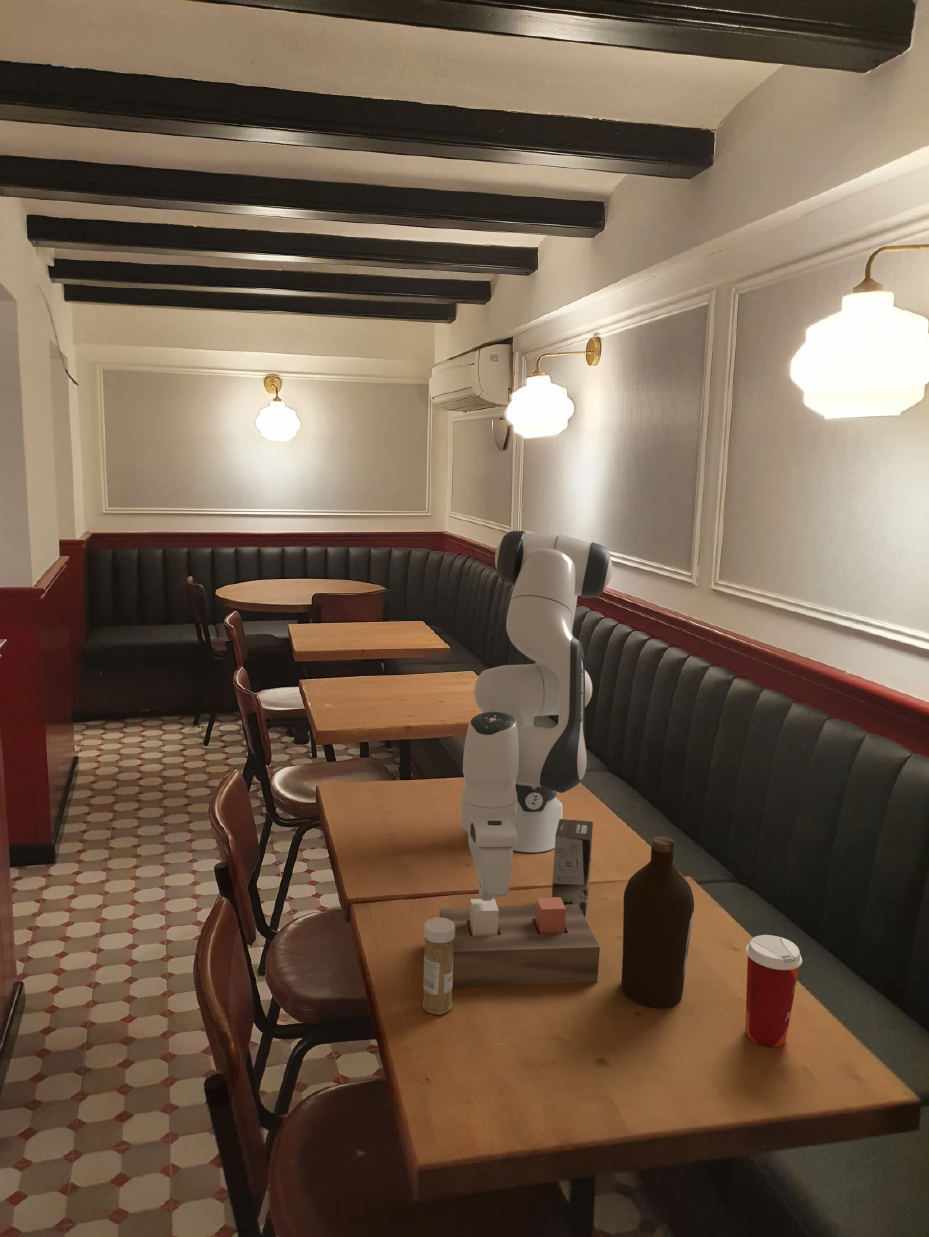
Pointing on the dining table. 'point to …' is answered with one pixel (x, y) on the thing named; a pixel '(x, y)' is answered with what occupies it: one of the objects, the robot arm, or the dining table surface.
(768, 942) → the paper cup
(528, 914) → the socket block
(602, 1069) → the dining table surface
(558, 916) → the red plug
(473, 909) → the white plug
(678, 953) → the olive oil
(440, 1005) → the spice jar
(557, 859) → the coffee box
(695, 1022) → the dining table surface
